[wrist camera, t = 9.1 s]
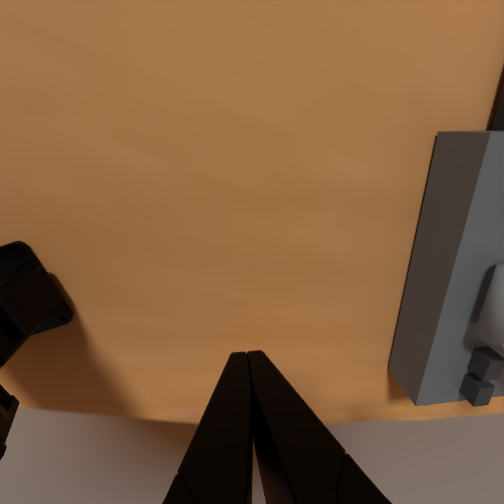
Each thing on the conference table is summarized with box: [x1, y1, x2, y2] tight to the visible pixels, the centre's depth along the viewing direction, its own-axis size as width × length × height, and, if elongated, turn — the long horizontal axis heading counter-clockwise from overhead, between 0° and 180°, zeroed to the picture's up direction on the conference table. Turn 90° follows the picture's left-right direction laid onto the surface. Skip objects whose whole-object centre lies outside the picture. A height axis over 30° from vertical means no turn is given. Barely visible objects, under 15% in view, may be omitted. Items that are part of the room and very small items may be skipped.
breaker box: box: [388, 85, 504, 407], centre depth 19 cm, size 8×28×5 cm, turn 1°
